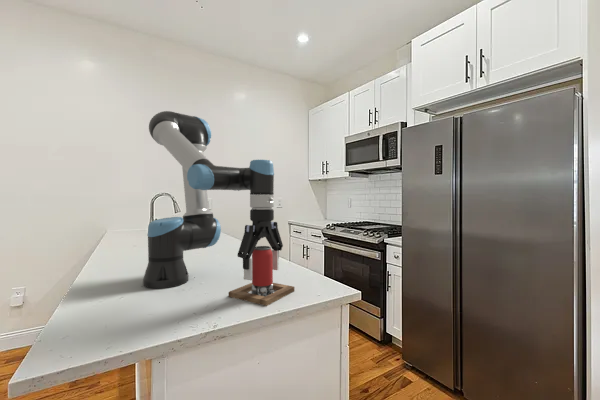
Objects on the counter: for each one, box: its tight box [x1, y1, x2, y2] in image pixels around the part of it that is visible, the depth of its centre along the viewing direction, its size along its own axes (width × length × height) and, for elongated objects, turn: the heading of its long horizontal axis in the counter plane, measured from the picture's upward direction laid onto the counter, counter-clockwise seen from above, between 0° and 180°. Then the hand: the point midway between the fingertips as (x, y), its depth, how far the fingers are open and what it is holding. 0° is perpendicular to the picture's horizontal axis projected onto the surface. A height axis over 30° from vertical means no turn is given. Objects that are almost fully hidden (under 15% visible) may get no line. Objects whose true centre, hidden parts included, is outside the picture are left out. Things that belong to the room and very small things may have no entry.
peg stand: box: [251, 284, 274, 296], centre depth 95 cm, size 5×5×3 cm
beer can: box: [251, 245, 274, 287], centre depth 95 cm, size 7×7×12 cm
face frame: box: [228, 282, 295, 307], centre depth 95 cm, size 15×15×2 cm
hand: (262, 274), depth 95 cm, fingers open, 13 cm apart
